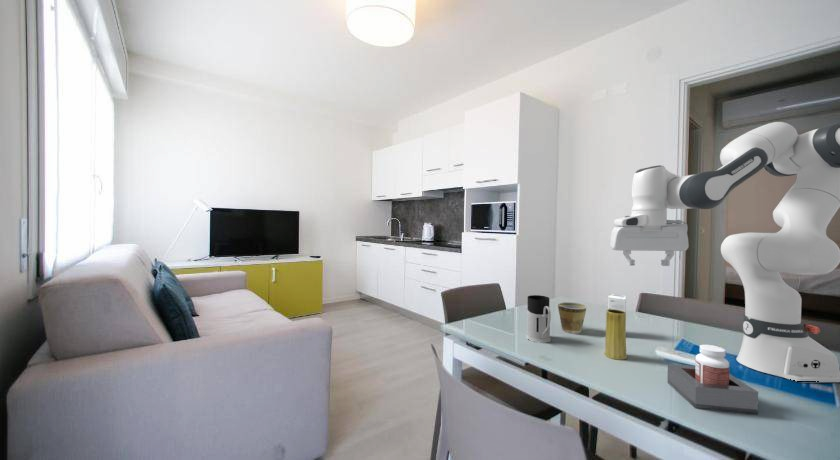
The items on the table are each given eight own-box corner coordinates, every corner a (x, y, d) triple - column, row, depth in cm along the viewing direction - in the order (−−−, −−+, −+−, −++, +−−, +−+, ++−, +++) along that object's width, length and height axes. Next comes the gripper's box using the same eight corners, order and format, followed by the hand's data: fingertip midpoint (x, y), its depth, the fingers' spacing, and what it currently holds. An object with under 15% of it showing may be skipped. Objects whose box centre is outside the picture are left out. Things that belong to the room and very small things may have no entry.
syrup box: (625, 333, 125) (626, 295, 124) (625, 337, 120) (626, 298, 119) (608, 330, 128) (608, 293, 127) (607, 334, 123) (608, 296, 123)
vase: (630, 360, 100) (630, 314, 100) (608, 359, 102) (608, 313, 101) (622, 352, 106) (622, 309, 106) (601, 351, 108) (602, 308, 107)
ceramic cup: (591, 335, 123) (591, 308, 122) (564, 335, 123) (564, 308, 122) (575, 324, 136) (575, 300, 135) (550, 324, 136) (551, 300, 135)
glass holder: (545, 334, 124) (545, 294, 124) (562, 348, 110) (562, 304, 110) (522, 334, 124) (522, 294, 124) (536, 349, 110) (536, 304, 109)
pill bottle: (736, 398, 77) (737, 351, 77) (715, 401, 76) (717, 354, 76) (707, 385, 83) (708, 342, 83) (688, 388, 82) (689, 344, 82)
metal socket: (720, 387, 84) (720, 367, 84) (757, 414, 73) (758, 391, 73) (667, 382, 87) (667, 364, 87) (695, 408, 75) (695, 386, 75)
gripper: (681, 219, 101) (680, 264, 101) (608, 220, 104) (608, 263, 105) (694, 219, 95) (693, 267, 95) (616, 220, 98) (616, 266, 99)
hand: (647, 265), depth 100 cm, fingers open, 8 cm apart
